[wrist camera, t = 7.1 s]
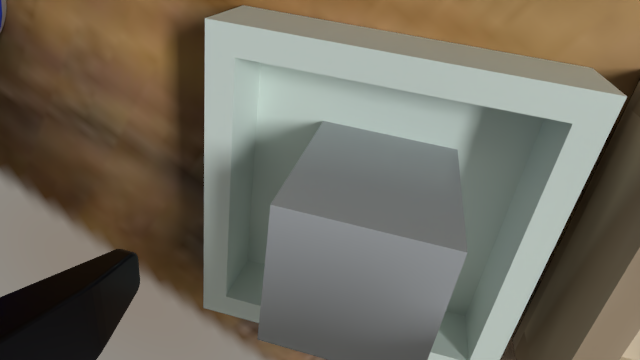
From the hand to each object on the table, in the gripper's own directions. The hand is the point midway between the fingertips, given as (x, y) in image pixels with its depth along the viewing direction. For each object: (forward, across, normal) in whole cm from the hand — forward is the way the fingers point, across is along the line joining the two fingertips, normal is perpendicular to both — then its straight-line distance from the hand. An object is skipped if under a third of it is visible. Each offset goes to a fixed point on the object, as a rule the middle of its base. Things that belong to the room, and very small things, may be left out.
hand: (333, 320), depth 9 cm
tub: (+6, 0, 0) cm, 6 cm away
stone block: (+6, 0, 0) cm, 6 cm away
